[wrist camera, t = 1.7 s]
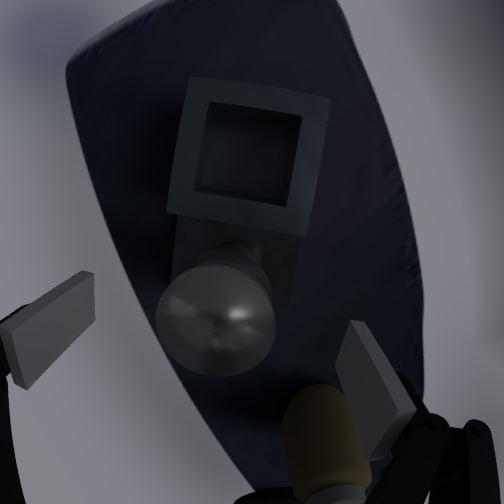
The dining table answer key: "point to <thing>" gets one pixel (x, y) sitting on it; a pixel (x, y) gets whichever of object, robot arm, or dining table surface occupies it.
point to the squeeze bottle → (324, 448)
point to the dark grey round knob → (218, 313)
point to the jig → (246, 174)
